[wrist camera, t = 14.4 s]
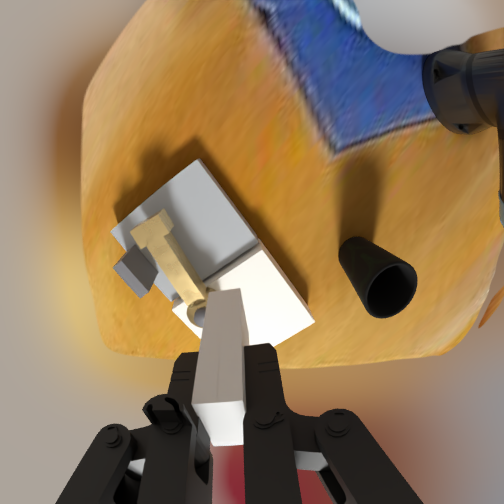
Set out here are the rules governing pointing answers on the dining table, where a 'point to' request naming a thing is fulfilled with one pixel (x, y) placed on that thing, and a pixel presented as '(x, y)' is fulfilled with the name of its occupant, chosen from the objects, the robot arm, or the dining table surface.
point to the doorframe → (214, 257)
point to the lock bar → (172, 260)
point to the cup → (378, 277)
